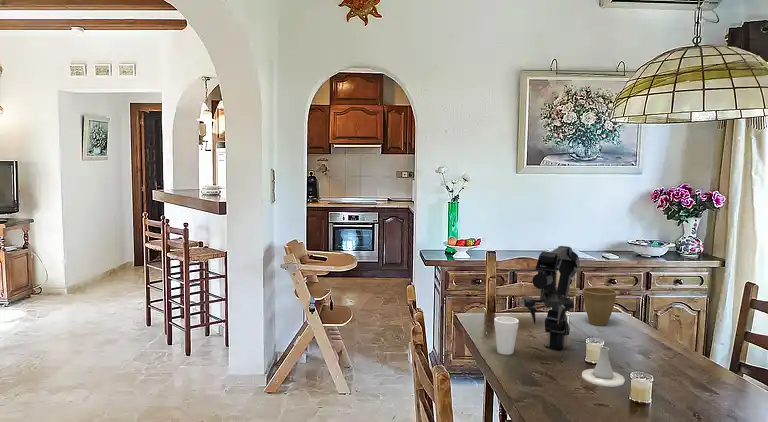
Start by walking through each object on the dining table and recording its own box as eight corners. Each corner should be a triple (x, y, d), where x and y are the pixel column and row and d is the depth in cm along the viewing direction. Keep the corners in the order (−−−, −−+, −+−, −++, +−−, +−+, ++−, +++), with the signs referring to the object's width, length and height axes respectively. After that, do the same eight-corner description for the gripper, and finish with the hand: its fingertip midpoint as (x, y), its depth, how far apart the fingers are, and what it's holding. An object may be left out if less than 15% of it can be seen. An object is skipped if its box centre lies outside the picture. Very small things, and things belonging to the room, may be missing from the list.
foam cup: (503, 357, 219) (504, 324, 218) (488, 349, 228) (489, 318, 226) (522, 353, 224) (523, 321, 222) (507, 346, 232) (508, 315, 231)
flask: (615, 380, 195) (617, 352, 194) (593, 378, 197) (595, 350, 196) (612, 373, 202) (613, 345, 201) (590, 371, 204) (592, 343, 203)
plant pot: (615, 321, 272) (617, 289, 270) (614, 330, 258) (616, 295, 257) (582, 317, 278) (584, 285, 276) (579, 325, 264) (581, 291, 263)
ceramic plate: (591, 368, 209) (591, 365, 209) (630, 379, 200) (630, 376, 200) (575, 378, 199) (575, 375, 199) (615, 390, 189) (615, 387, 189)
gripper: (528, 288, 210) (526, 329, 212) (579, 290, 210) (577, 331, 211) (522, 282, 221) (520, 321, 223) (570, 283, 221) (568, 322, 222)
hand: (546, 324), depth 219 cm, fingers open, 9 cm apart
